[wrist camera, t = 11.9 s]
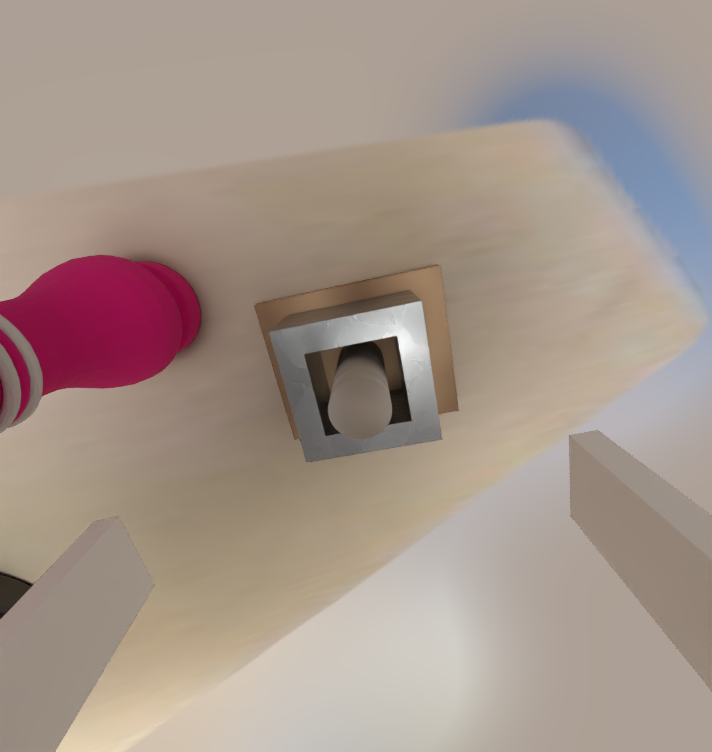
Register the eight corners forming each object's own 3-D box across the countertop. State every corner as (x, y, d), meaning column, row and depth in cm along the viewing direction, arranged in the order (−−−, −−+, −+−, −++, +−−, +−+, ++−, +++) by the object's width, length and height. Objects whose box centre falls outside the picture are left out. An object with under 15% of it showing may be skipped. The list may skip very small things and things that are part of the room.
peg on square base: (297, 433, 28) (267, 515, 19) (258, 303, 24) (202, 333, 16) (455, 404, 27) (498, 478, 18) (437, 264, 23) (479, 275, 15)
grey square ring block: (317, 423, 26) (306, 462, 21) (287, 315, 24) (268, 332, 19) (427, 403, 25) (442, 439, 21) (409, 289, 23) (421, 301, 18)
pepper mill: (166, 232, 23) (-729, 172, 4) (229, 333, 25) (-173, 594, 6) (79, 285, 24) (-918, 423, 5) (146, 376, 26) (-400, 706, 7)
